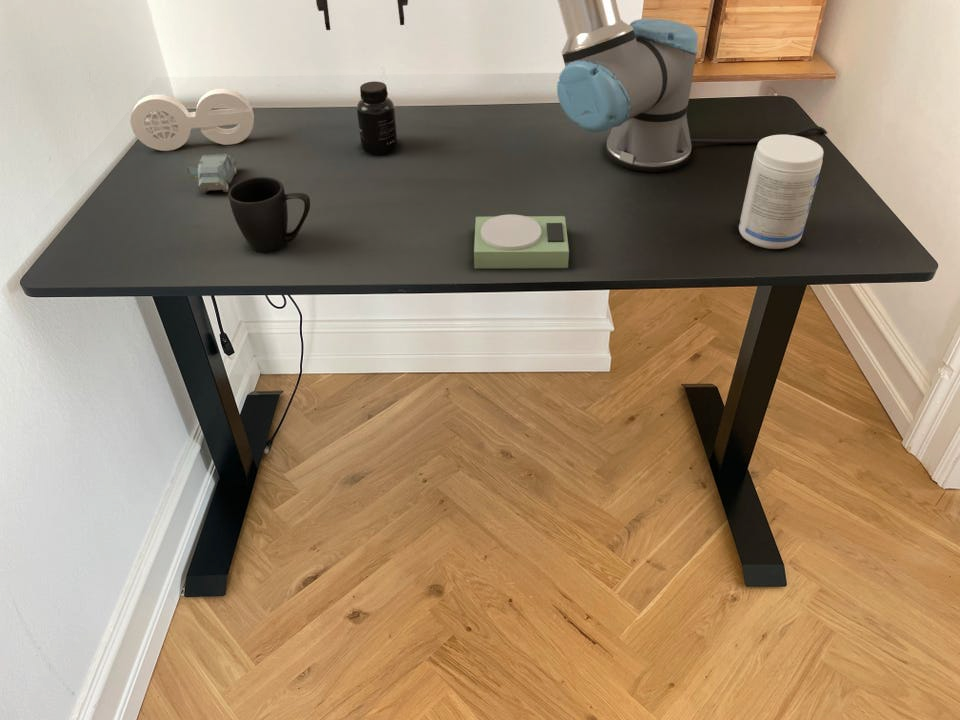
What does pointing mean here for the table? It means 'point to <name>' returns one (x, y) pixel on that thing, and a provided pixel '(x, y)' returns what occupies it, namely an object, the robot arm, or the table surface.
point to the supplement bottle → (376, 119)
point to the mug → (264, 212)
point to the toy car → (214, 172)
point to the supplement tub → (780, 190)
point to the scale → (521, 242)
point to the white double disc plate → (191, 119)
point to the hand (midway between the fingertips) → (365, 24)
